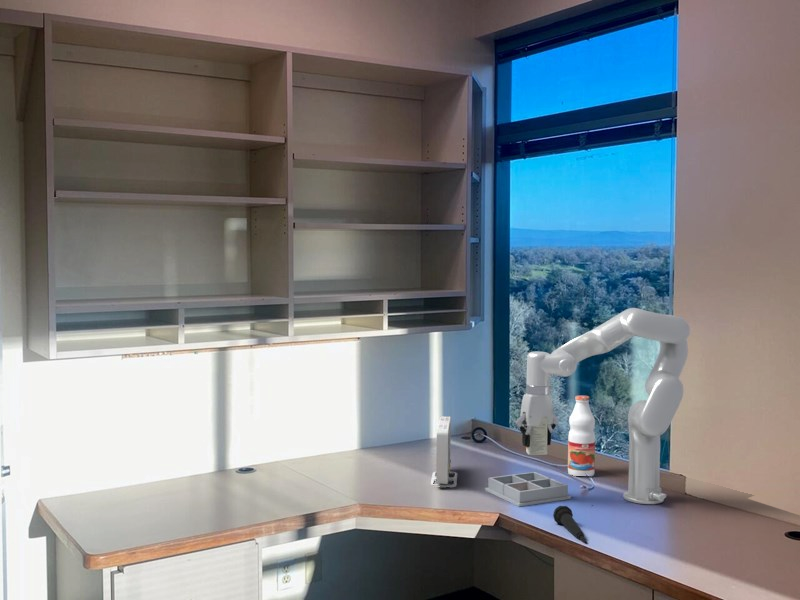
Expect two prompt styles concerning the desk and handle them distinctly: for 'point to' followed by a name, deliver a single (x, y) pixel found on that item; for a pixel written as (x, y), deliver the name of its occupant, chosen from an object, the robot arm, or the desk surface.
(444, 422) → the network device
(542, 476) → the gray compartment tray
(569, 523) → the microphone
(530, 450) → the skincare box
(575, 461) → the fruit juice
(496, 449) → the desk surface
